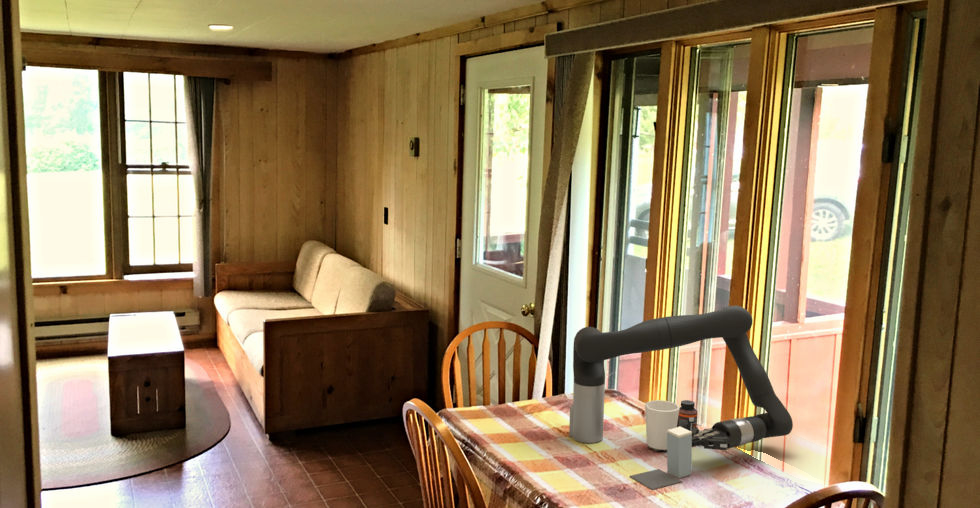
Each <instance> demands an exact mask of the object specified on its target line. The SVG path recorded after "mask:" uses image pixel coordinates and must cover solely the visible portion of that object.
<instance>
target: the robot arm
mask: <svg viewBox="0 0 980 508" xmlns="http://www.w3.org/2000/svg"><path fill="white" fill-rule="evenodd" d="M752 325H753V316H752V314H751V312H749V311H748V309H746V308H744V307H743V306H739V305H728V306H726V307H722V308H720V309H718V310H713V311H710V312H707V313H700V314H683V315H682V314H681V315H672V316H671V315H670V316H664V317H657V318H653V319H647V320H644V321H641V322H640V323H636V324H634V325H632V326H630V327H628V328H625V329H622V330H616V331H606V332H601V330H599V329H598V328H596V327H593V326H585V327H582V328H581V329H579V330H578V331H577V332H576V334H575V336H574V338H573V352H572V355H573V357H572V358H573V359H572V360H573V361H572V369H573V371H572V372H573V386H572V387H573V388H572V389H573V393H572V395H573V396H572V404H571V405H570V406H569V425H568V426H569V427H568V436H569V437H570V438H572V439H573V440H575V441H577V442H580V443H588V444H591V443H592V444H593V443H594V444H595V443H599V442H601V441H602V440H603V438H604V421H605V420H604V416H605V415H604V414H605V390H606V387H605V386H606V371H605V370H606V369H605V361H607V360H610V359H614V358H618V357H622V356H626V355H632V354H641V353H647V352H648V353H649V352H655V351H662V350H663V351H664V350H668V349H669V350H670V349H675V348H679V347H682V346H686V345H690V344H693V343H697V342H700V341H704V340H709V339H710V340H711V339H719V338H721V339H723V342H724V343H725V345H726V347H727V349H728V350H729V352H730V354H731V356H732V358H733V360H734V362H735V364H736V366H737V369H738V371H739V374H740V376H741V378H742V379H741V380H742V381H743V385H744V386H745V388H746V391H747V394H748V397H749V399H750V400H751V401H750V402H751V403H752V405H753V406H755V407H757V408H762V409H763V410H764V411H765V412H763V413H759V414H755V415H752V416H751V415H750V416H745V417H741V418H731V419H727V420H722V421H717V422H715V423H714V424H713V425H712V427H711V428H704V429H702V430H701V429H699V427H698V426H697V427H694V428H693V430H692V448H695V447H699V448H703V449H705V450H717V451H718V450H719V451H727V450H728V449H733V448H737V447H741V446H745V445H747V444H751V443H754V442H757V441H760V440H762V439H767V438H775V437H783V436H787V435H788V436H789V435H790V434H791V432H792V430H793V427H794V425H793V424H794V423H793V419H792V418H793V417H792V416H791V414H790V412H789V410H788V409H787V408H786V406H785V405H784V404H783V403H782V401H781V400H780V398H779V397H778V396H777V395H776V393H775V390H774V387H773V385H772V382H771V381H770V377H769V375H768V373H767V371H766V370H765V368H764V366H763V365H762V363H761V362H760V360H759V358H758V356H757V355H756V353H755V351H754V349H753V347H752V345H751V342H750V340H749V339H750V338H749V336H748V333H749V331H750V330H751V328H752Z"/></svg>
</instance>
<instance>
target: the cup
mask: <svg viewBox="0 0 980 508" xmlns="http://www.w3.org/2000/svg"><path fill="white" fill-rule="evenodd" d="M679 408H680V405H679V404H677V403H676V402H672V401H669V400H661V399H660V400H659V399H657V400H656V399H654V400H650V401H646V402H645V403H644V410H645V411H644V413H645V428H646V431H645V433H646V445H647V448H649V449H652V450H653V451H654V452H659V451H664V452H666V453H667V430H669V429H673V428H676V427H677V421H678V415H679Z"/></svg>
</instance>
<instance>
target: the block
mask: <svg viewBox="0 0 980 508" xmlns="http://www.w3.org/2000/svg"><path fill="white" fill-rule="evenodd" d="M692 448H693V447H692V432H691V431H689V430H687V429H684V428H682V427H676V428H673V429H669V430H667V452H666V454H667V455H666V456H667V457H666V459H667V460H666V461H667V462H666V464H667V465H666V467H667V469H666V470H667V471H666V473H667V474H669V475H671V476H673V477H675V478H677V479H681V478H685V477H687V476H688V477H689V476H690V475H692V473H693V472H692V469H693V468H692V466H693V465H692V464H693V463H692V461H693V460H692V459H693V457H692V455H693V453H692V450H693V449H692Z"/></svg>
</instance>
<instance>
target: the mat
mask: <svg viewBox="0 0 980 508" xmlns="http://www.w3.org/2000/svg"><path fill="white" fill-rule="evenodd" d="M629 478H631V479H633V480H635V481H636V482H637V483H639V482H640V483H639V484H641V485H643V486H644V485H645V487H647V488H648V489H650V490H653V491H654V490H656V489H661V488H665V487H668V486H670V487H671V486H674V485H677V484H680V483H682V482H683V481H682V480H680V479H679V478H677V477H675V476H673V475H671V474H670V473H668V472H667V471H664V470H662V469H660V468H658V469H657V468H656V469H653V470H649V471H645V472H640V473H636V474H632V475H629Z"/></svg>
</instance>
